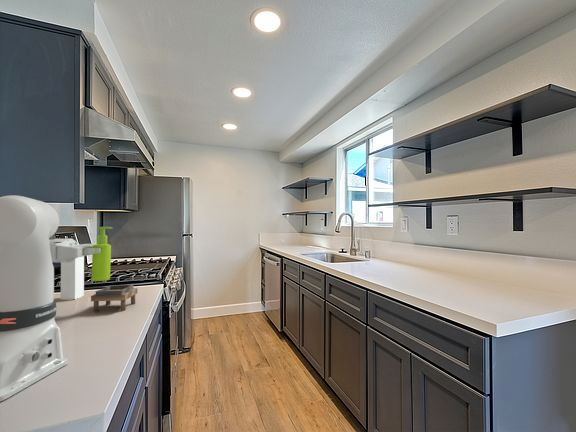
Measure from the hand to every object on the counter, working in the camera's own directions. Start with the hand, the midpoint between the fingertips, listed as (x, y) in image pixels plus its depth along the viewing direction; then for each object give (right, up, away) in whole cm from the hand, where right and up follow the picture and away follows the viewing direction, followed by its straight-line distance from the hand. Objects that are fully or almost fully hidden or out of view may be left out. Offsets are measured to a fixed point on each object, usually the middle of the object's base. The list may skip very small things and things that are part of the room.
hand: (105, 249), depth 110 cm
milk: (-25, -23, +17) cm, 39 cm away
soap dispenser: (-1, -11, -1) cm, 11 cm away
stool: (+2, -23, +3) cm, 23 cm away
